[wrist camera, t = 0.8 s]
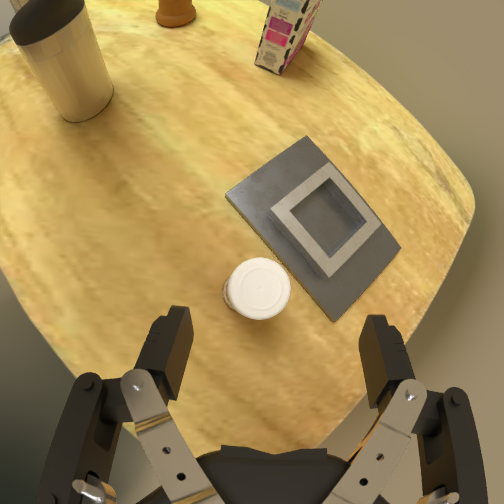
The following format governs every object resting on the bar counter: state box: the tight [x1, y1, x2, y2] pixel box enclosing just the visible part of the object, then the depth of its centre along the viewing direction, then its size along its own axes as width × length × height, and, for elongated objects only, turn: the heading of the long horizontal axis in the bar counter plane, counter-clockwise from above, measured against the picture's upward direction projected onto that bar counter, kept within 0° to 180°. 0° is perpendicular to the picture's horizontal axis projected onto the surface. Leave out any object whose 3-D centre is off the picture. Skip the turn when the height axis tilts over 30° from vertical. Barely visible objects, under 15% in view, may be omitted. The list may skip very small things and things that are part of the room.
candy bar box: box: [254, 0, 323, 75], centre depth 33 cm, size 11×5×16 cm, turn 154°
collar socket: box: [225, 135, 401, 321], centre depth 35 cm, size 20×14×4 cm
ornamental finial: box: [156, 0, 196, 27], centre depth 36 cm, size 8×8×8 cm
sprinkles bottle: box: [222, 257, 291, 320], centre depth 27 cm, size 5×5×13 cm
